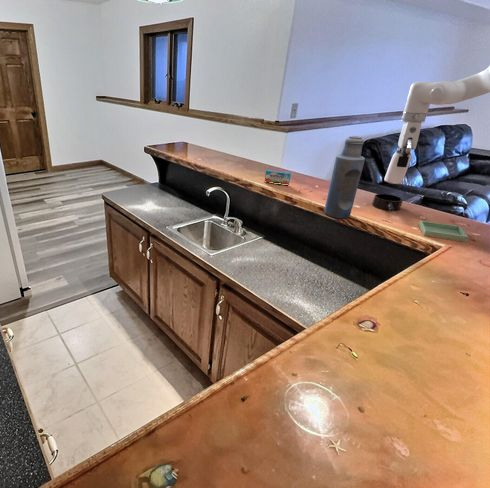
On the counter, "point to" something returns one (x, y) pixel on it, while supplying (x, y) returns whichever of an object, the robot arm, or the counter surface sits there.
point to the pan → (387, 202)
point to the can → (396, 170)
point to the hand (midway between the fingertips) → (400, 164)
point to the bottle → (345, 179)
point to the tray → (443, 231)
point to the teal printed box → (277, 177)
